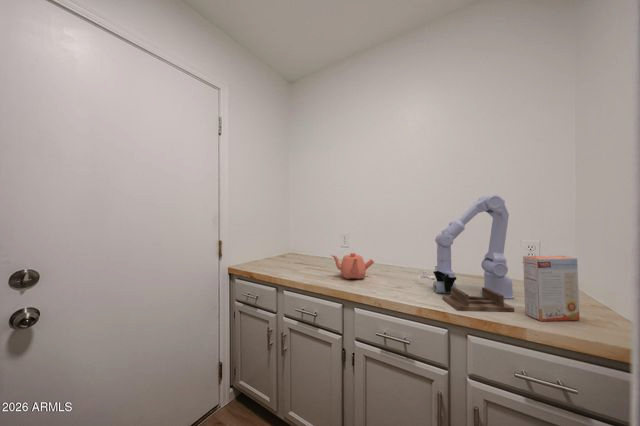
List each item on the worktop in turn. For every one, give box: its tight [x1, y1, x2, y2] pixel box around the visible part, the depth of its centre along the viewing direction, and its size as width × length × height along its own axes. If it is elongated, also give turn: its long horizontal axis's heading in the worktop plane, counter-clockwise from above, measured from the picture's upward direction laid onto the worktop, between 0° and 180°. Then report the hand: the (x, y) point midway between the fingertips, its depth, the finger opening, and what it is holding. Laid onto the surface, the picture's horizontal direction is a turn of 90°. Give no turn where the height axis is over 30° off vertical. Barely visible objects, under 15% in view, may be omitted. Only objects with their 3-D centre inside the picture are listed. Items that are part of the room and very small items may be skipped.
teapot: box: [330, 252, 375, 280], centre depth 133 cm, size 18×18×14 cm
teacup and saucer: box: [417, 270, 436, 280], centre depth 131 cm, size 9×8×4 cm
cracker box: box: [522, 255, 581, 322], centre depth 79 cm, size 14×6×21 cm, turn 92°
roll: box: [432, 280, 457, 294], centre depth 106 cm, size 8×5×5 cm, turn 86°
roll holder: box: [441, 286, 515, 313], centre depth 90 cm, size 20×12×6 cm, turn 86°
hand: (444, 289), depth 106 cm, fingers open, 6 cm apart
